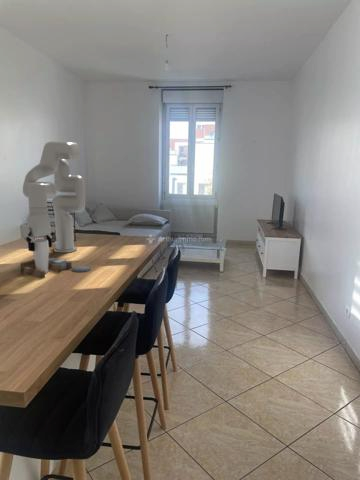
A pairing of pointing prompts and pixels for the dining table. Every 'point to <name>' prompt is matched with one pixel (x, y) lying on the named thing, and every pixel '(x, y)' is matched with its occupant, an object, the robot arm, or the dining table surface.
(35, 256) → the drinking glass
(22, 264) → the walnut cubby
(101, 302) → the dining table surface
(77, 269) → the felt coaster
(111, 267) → the dining table surface
